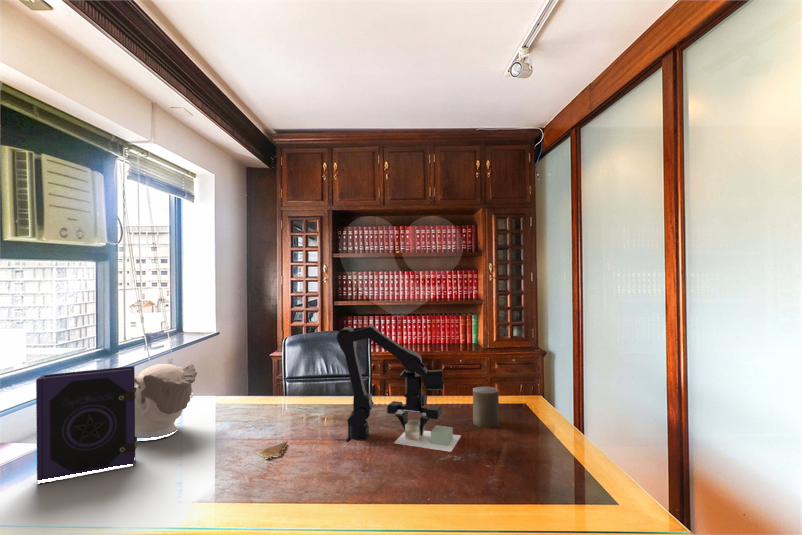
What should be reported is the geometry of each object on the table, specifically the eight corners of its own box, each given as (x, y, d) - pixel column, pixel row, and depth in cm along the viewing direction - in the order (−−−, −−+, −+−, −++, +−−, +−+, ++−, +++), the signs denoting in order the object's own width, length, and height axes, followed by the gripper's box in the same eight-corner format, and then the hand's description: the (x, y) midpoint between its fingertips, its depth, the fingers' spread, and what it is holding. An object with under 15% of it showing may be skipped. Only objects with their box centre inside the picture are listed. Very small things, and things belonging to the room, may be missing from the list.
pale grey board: (393, 445, 142) (393, 442, 142) (408, 430, 155) (408, 428, 155) (451, 454, 135) (451, 451, 135) (461, 438, 148) (461, 435, 148)
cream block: (405, 438, 146) (405, 424, 146) (410, 433, 150) (410, 419, 150) (418, 440, 144) (418, 426, 144) (423, 435, 148) (423, 421, 148)
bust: (93, 420, 154) (119, 350, 149) (144, 404, 172) (168, 341, 167) (137, 465, 145) (166, 391, 140) (186, 443, 163) (213, 377, 158)
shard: (287, 445, 145) (287, 440, 145) (299, 452, 140) (299, 446, 140) (257, 455, 137) (257, 450, 137) (268, 463, 132) (268, 457, 132)
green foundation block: (431, 443, 142) (430, 431, 142) (436, 436, 147) (436, 425, 147) (448, 445, 140) (448, 433, 140) (452, 439, 145) (452, 427, 145)
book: (36, 486, 118) (35, 379, 119) (43, 476, 124) (42, 374, 124) (135, 467, 129) (134, 369, 129) (137, 458, 135) (136, 365, 135)
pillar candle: (497, 431, 154) (497, 390, 154) (470, 428, 157) (470, 388, 157) (500, 422, 163) (500, 384, 163) (475, 420, 166) (474, 382, 166)
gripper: (445, 386, 151) (446, 429, 151) (397, 381, 158) (398, 423, 158) (436, 394, 141) (437, 441, 141) (385, 389, 148) (386, 434, 148)
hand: (414, 434), depth 147 cm, fingers open, 5 cm apart
